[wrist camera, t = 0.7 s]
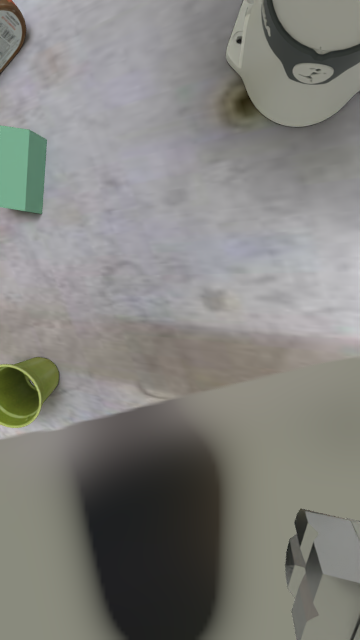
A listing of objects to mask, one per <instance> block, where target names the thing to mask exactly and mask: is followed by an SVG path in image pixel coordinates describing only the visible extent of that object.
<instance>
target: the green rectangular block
mask: <svg viewBox="0 0 360 640" xmlns="http://www.w3.org/2000/svg"><path fill="white" fill-rule="evenodd" d="M46 146H47V140H46V139H45V138H43V137H41V136H39V135H38V134H36V133H34V132H32V131H31V130H28V129H21V128H14V127H7V126H0V207H4V208H9V209H15V210H21V211H27V212H33V213H40V214H42V207H43V192H44V176H45V161H46Z"/></svg>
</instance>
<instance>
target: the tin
mask: <svg viewBox="0 0 360 640" xmlns="http://www.w3.org/2000/svg"><path fill="white" fill-rule="evenodd" d="M25 35H26V25H25V20H24V18H23V16H22V13H21V12H20V10H19V9H18V7H17V6H16V5H15V4H14V2H13V1H12V0H0V73H1V72H2V71H3V69H4V68H5V67H6V66H7V65H8V64H9V62H10V61H11V60H12V59H13V58H14V57H15V55H16V54H17V53H18V52H19V50H20V49H21V47H22V45H23V42H24V39H25Z"/></svg>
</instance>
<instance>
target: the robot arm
mask: <svg viewBox="0 0 360 640" xmlns="http://www.w3.org/2000/svg"><path fill="white" fill-rule="evenodd" d="M239 39H241V40H242V43H241V44H238V43H237V40H239ZM226 59H227V61H228V63H229V64H230V66H231V67H232V68H233V69H234V70H235V71H236V72H237V73H238V74H239V75H240V76H241V78H242V80H243V82H244V85H245V87H246V90H247V93H248V95H249V97H250V99H251V101H252V102H253V104H254V105H255V107H256V108H257V109H258V110H259V111H260V112H261V113H262V114H263V115H264V116H266V117H267V118H268V119H270V120H272V121H274V122H276V123H278V124H281V125H285V126H292V127H302V126H309V125H313V124H316V123H319V122H321V121H323V120H325V119H327V118H329V117H331V116H332V115H334V114H335V113H336V112H338V111H339V110H340V109H341V108H342V107H343V106H344V105H345V104H346V103H347V102H348V101H349V100H350V99H351V98H352V97H353V96H354V95H355V94H356V93H357V92H359V91H360V0H243V3H242V6H241V9H240V12H239V14H238V17H237V20H236V23H235V26H234V29H233V31H232V34H231V37H230V40H229V43H228V46H227V50H226ZM295 528H296V532H297V534H296V535H295V536H293V537H292V538H290V539H289V544H288V547H287V551H286V563H285V571H286V581H287V587H288V590H289V591H290V593H291V594H292V595H293V596H294V598H295V601H294V604H293V608H292V617H293V622H294V627H295V634H296V639H297V640H360V521H357V520H352V519H344V518H340V517H336V516H331V515H327V514H323V513H318V512H314V511H310V510H305V509H300V510H299V512H298V513H297V516H296V519H295Z"/></svg>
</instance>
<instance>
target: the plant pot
mask: <svg viewBox="0 0 360 640" xmlns="http://www.w3.org/2000/svg"><path fill="white" fill-rule="evenodd" d="M29 380H31V381H32V383H33V384H34V385H35V386H33V385H32V384H31V383H30V381H29ZM58 382H59V372H58V369H57V367H56V366H55V365H54V363H52V362H51V361H50V360H48V359H45V358H40V357H36V358H32V359H29V360H26V361H23V362H20V363H17V364H14V365H13V364H12V365H11V364H1V365H0V425H3V426H6V427H10V428H21V427H24V426H27V425H29V424H30V423H32V422H33V421H34V420H35V419H36V418H37V416H38V415H39V413H40V410H41V406H42V404H43V403H44V401H45V400H46V399H47V398H48V396H49V395H50V394H51V393H52V392H53V390H54V389H55V388H56V387H57V385H58Z"/></svg>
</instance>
